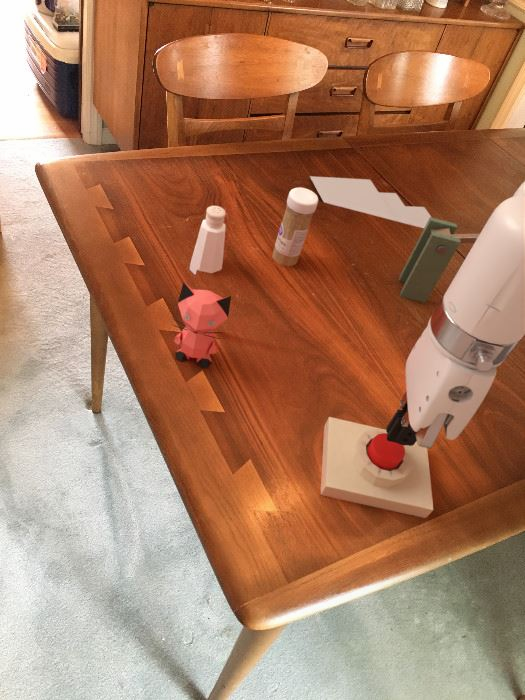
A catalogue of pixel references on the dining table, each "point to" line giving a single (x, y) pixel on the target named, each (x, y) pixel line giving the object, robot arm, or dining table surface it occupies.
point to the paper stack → (368, 200)
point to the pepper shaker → (210, 242)
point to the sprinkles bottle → (294, 226)
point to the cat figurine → (200, 323)
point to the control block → (373, 471)
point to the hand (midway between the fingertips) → (399, 437)
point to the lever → (457, 235)
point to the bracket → (428, 260)
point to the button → (385, 452)
